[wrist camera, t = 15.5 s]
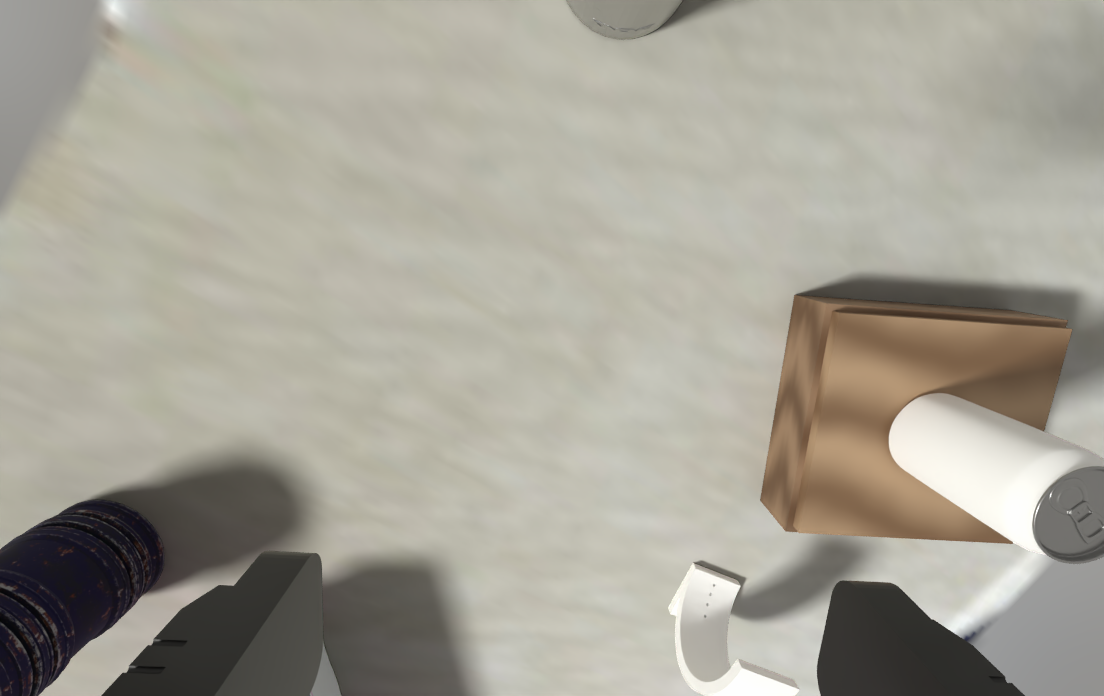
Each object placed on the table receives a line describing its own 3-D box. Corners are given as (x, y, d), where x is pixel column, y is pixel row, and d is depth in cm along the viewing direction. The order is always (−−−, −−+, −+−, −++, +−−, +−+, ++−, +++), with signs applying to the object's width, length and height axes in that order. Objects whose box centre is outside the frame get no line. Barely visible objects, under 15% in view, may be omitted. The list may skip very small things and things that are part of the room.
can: (940, 372, 40) (1110, 434, 28) (988, 435, 41) (1170, 519, 29) (867, 430, 40) (1002, 513, 29) (915, 490, 42) (1065, 593, 30)
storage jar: (180, 523, 47) (-33, 701, 29) (149, 616, 49) (-69, 836, 31) (61, 481, 46) (-233, 640, 28) (34, 578, 48) (-258, 783, 30)
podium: (794, 295, 44) (834, 305, 38) (1010, 310, 45) (1081, 322, 39) (760, 500, 48) (791, 538, 42) (959, 511, 49) (1017, 549, 43)
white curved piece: (737, 580, 50) (800, 689, 38) (706, 633, 51) (758, 755, 39) (692, 562, 49) (741, 667, 37) (662, 616, 50) (701, 735, 39)
